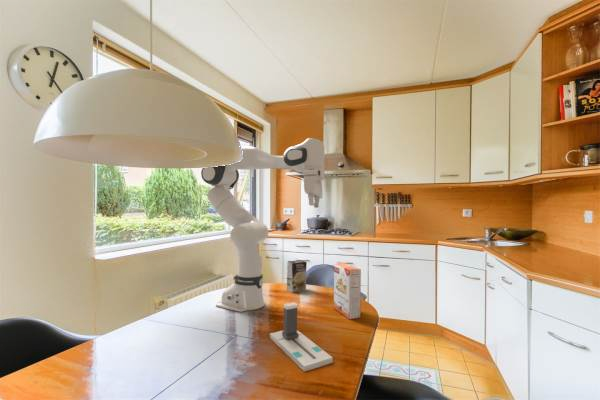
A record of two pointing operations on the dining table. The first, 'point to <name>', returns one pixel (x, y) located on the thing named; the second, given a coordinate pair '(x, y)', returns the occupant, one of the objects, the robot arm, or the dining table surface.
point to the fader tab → (290, 321)
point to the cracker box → (347, 290)
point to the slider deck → (302, 351)
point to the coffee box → (296, 276)
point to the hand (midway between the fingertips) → (313, 206)
